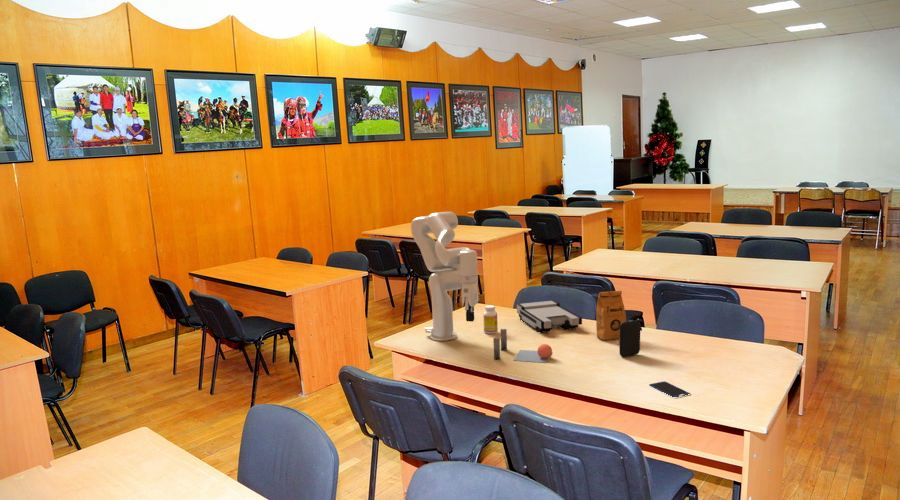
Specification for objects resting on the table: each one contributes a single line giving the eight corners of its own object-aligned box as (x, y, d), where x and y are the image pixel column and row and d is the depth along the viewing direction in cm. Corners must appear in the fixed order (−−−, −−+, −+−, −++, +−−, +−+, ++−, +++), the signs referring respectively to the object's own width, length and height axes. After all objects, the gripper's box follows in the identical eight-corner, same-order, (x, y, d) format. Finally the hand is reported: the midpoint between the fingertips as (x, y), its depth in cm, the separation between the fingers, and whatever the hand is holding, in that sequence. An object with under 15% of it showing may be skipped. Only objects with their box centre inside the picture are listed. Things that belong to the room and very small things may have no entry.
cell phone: (674, 399, 207) (674, 397, 207) (648, 386, 220) (648, 384, 220) (692, 396, 210) (692, 394, 209) (664, 382, 222) (664, 380, 222)
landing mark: (513, 360, 251) (513, 360, 251) (520, 350, 264) (520, 349, 264) (547, 363, 247) (547, 362, 247) (552, 352, 260) (552, 351, 260)
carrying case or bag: (639, 352, 255) (639, 318, 253) (643, 354, 252) (644, 320, 250) (617, 356, 251) (617, 321, 249) (622, 358, 249) (622, 323, 246)
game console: (541, 336, 284) (541, 319, 283) (517, 319, 315) (516, 304, 314) (582, 331, 289) (581, 315, 288) (554, 315, 320) (554, 300, 319)
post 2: (500, 350, 265) (499, 330, 264) (501, 348, 267) (501, 328, 266) (506, 350, 264) (505, 330, 263) (507, 348, 267) (507, 328, 265)
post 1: (493, 360, 253) (492, 339, 251) (494, 358, 255) (494, 337, 254) (499, 360, 252) (498, 339, 251) (500, 358, 254) (500, 337, 253)
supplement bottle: (496, 334, 289) (496, 308, 287) (482, 334, 290) (482, 308, 288) (498, 330, 295) (497, 304, 293) (484, 330, 296) (484, 304, 294)
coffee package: (628, 340, 272) (629, 292, 269) (601, 342, 271) (601, 294, 268) (620, 334, 282) (620, 287, 278) (594, 336, 281) (594, 289, 277)
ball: (546, 363, 249) (533, 355, 251) (548, 358, 255) (536, 351, 256) (553, 351, 248) (540, 343, 249) (555, 347, 254) (543, 339, 255)
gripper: (472, 282, 251) (474, 326, 253) (481, 275, 265) (483, 316, 267) (455, 282, 253) (456, 325, 256) (465, 275, 267) (466, 316, 270)
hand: (470, 320), depth 262 cm, fingers closed
